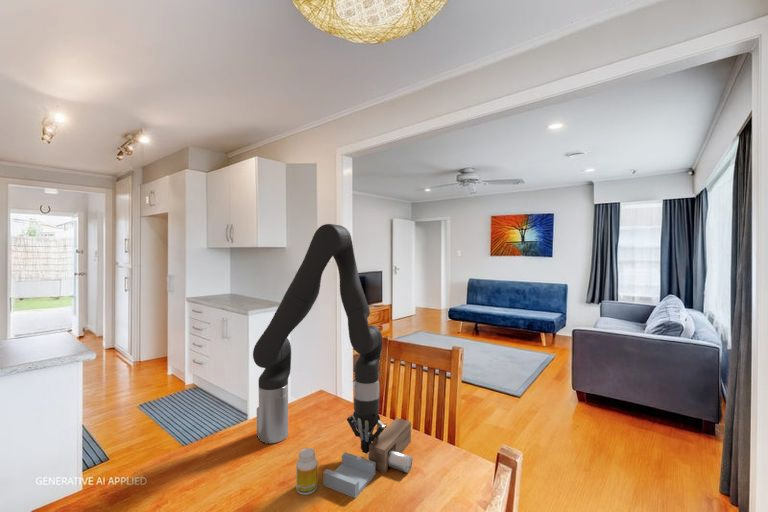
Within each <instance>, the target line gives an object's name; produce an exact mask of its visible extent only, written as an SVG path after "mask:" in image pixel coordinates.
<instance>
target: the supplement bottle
mask: <svg viewBox="0 0 768 512" xmlns="http://www.w3.org/2000/svg"><path fill="white" fill-rule="evenodd" d="M295 467H296V468H295V469H296V470H295V472H296V473H295V474H296V475H295V478H296V479H295V481H296V482H295V488H296V492H297V493H299V494H300V495H303V496H308V495H311V494H313V493H314V492H315V491H316V490H317V488H318V459H317V458H316V451H315V449H314V448H312V447H306V448H303V449H301V450H299V452H298V460H297V461H296V465H295Z"/></svg>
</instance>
